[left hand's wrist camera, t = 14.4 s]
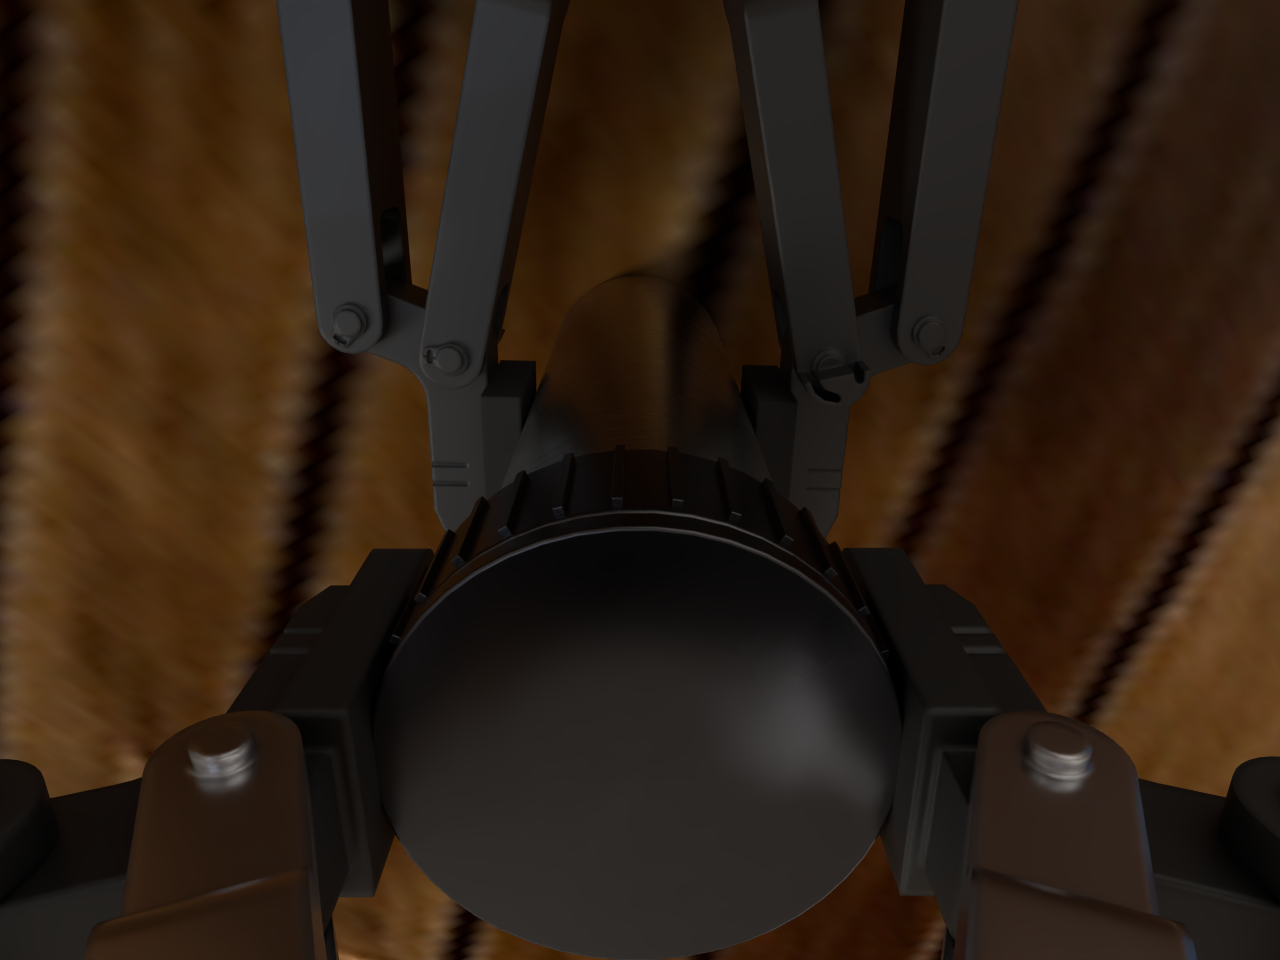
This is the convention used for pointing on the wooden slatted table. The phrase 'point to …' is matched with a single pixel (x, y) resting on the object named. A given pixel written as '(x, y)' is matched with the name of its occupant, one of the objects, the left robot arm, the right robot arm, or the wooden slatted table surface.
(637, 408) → the jar
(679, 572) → the lid
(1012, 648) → the wooden slatted table surface
